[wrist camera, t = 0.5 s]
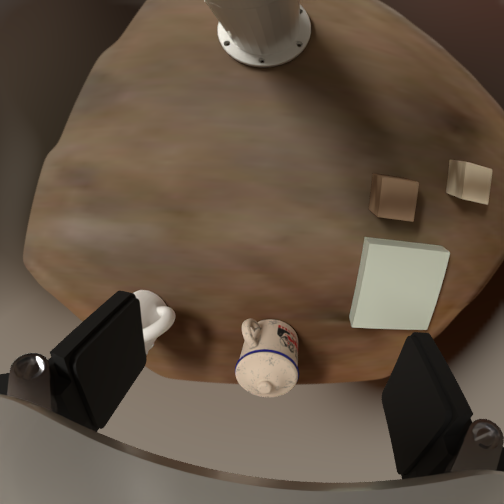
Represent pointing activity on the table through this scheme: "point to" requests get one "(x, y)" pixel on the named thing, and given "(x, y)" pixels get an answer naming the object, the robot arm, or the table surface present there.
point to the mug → (153, 316)
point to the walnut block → (393, 197)
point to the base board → (397, 284)
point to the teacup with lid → (268, 358)
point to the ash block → (469, 181)
